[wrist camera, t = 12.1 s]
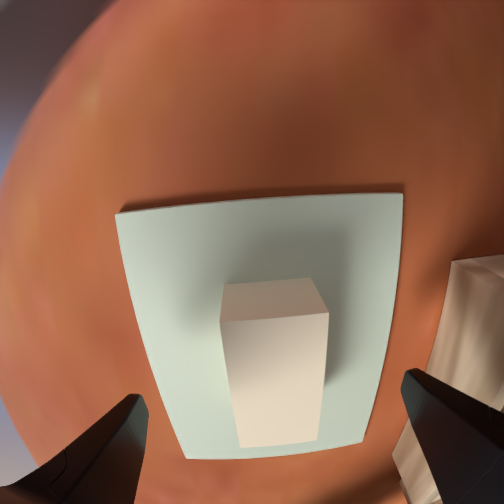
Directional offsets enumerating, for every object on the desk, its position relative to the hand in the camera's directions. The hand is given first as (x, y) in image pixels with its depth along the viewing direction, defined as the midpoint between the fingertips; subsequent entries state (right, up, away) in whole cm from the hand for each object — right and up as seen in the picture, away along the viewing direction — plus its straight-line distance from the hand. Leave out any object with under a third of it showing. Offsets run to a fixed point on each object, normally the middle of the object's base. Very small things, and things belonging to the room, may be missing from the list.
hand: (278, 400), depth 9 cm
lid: (0, 0, +4) cm, 4 cm away
